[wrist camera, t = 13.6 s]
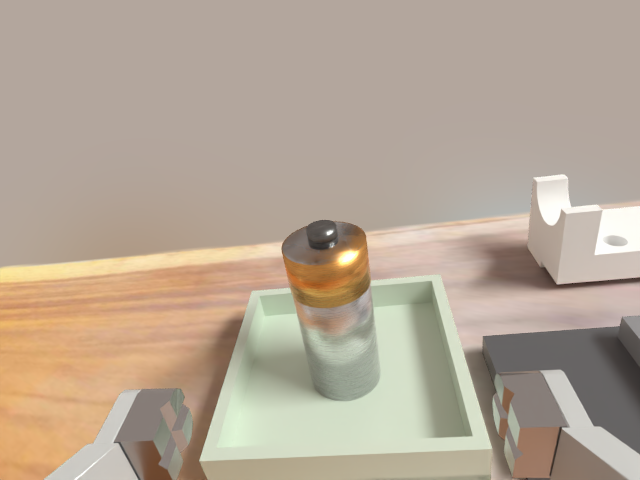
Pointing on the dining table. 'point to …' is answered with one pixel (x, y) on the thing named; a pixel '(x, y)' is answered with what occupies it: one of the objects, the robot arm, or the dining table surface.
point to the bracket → (581, 236)
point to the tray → (356, 415)
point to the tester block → (583, 370)
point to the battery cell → (334, 307)
